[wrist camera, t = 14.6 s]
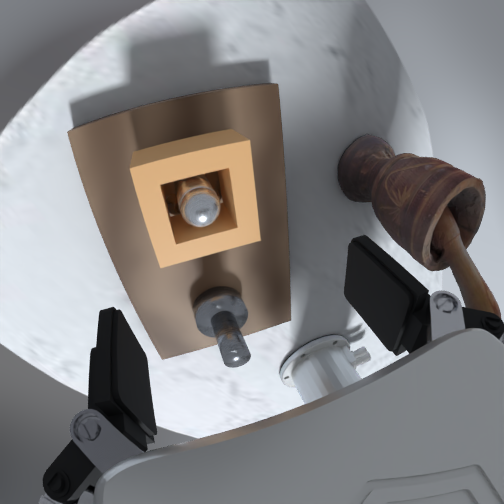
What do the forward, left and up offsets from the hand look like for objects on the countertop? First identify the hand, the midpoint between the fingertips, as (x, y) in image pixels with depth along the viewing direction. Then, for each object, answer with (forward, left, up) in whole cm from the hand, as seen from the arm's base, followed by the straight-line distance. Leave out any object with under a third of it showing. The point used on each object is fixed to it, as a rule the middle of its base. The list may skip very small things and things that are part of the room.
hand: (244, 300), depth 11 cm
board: (0, +6, -16) cm, 17 cm away
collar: (0, 0, -12) cm, 12 cm away
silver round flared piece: (0, 0, -14) cm, 14 cm away
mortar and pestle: (-19, +4, -16) cm, 25 cm away
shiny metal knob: (0, +13, -14) cm, 19 cm away
